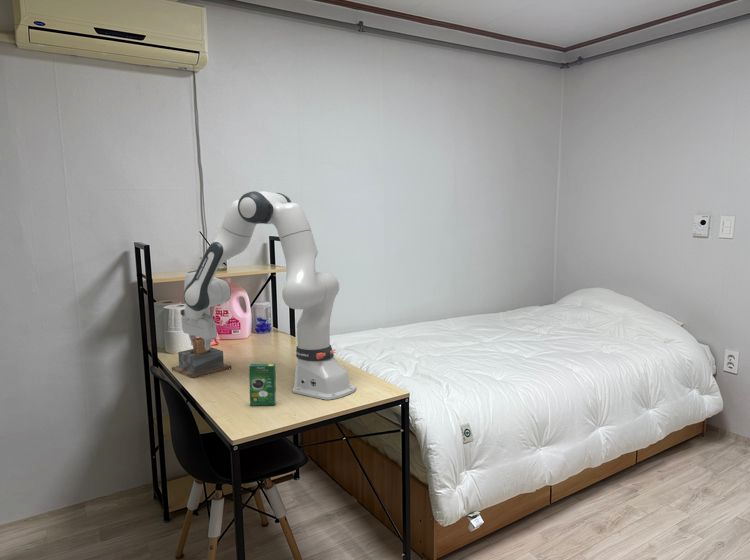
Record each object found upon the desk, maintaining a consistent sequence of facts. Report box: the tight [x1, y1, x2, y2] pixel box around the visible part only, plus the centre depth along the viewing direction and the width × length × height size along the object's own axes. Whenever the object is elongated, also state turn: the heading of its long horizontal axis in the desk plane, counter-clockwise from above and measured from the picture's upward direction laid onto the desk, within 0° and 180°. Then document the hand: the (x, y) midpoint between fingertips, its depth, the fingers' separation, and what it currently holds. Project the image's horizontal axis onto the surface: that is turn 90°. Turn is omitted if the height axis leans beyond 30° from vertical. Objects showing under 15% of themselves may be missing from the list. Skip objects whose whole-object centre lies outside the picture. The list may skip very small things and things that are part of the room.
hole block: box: [171, 346, 232, 379], centre depth 200 cm, size 16×16×7 cm
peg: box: [192, 337, 208, 355], centre depth 200 cm, size 4×4×10 cm
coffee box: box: [248, 363, 277, 407], centre depth 162 cm, size 8×3×13 cm, turn 91°
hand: (200, 347), depth 199 cm, fingers open, 8 cm apart
